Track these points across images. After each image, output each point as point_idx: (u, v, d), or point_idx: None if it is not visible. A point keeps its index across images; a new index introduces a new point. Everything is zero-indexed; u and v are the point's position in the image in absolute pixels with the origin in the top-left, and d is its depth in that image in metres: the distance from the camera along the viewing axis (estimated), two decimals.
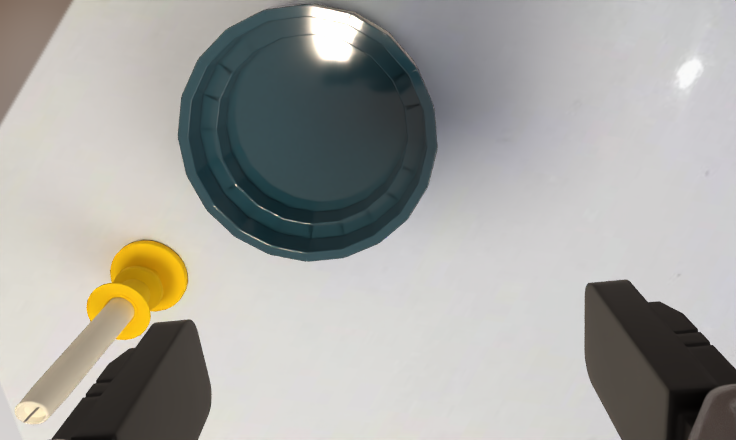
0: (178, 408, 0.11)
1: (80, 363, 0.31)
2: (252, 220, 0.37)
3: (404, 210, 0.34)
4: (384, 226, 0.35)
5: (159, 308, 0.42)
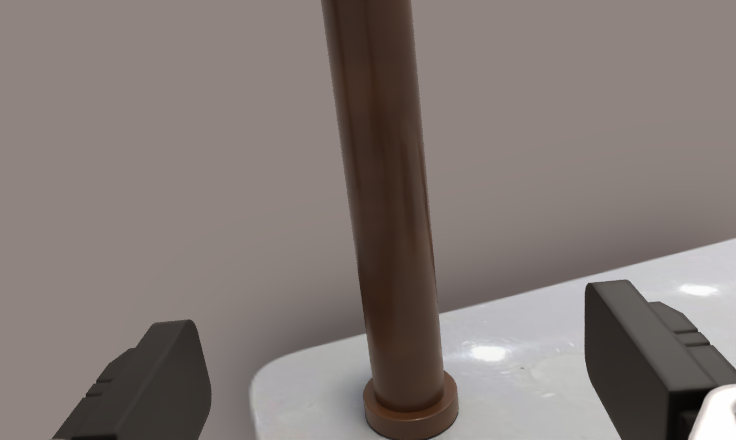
0: (178, 408, 0.11)
1: None
2: None
3: None
4: None
5: None
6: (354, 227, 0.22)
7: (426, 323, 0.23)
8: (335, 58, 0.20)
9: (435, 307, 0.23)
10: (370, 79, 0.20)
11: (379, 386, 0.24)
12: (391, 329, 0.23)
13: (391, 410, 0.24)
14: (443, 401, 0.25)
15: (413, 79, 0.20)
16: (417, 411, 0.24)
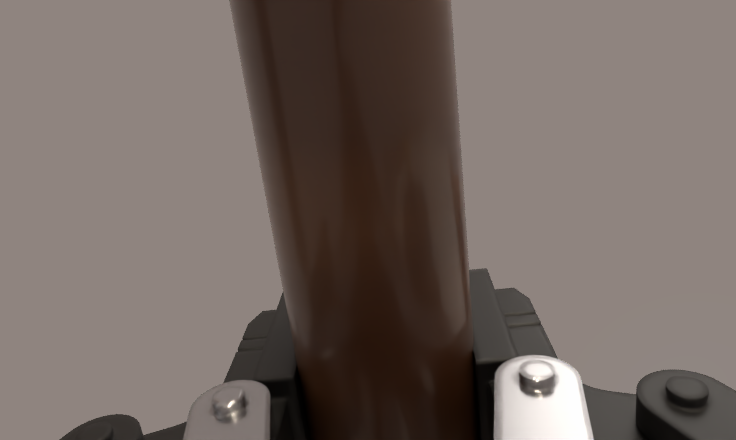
0: None
1: None
2: None
3: None
4: None
5: None
6: None
7: None
8: (264, 138, 0.08)
9: None
10: (350, 196, 0.08)
11: None
12: None
13: None
14: None
15: (455, 185, 0.08)
16: None
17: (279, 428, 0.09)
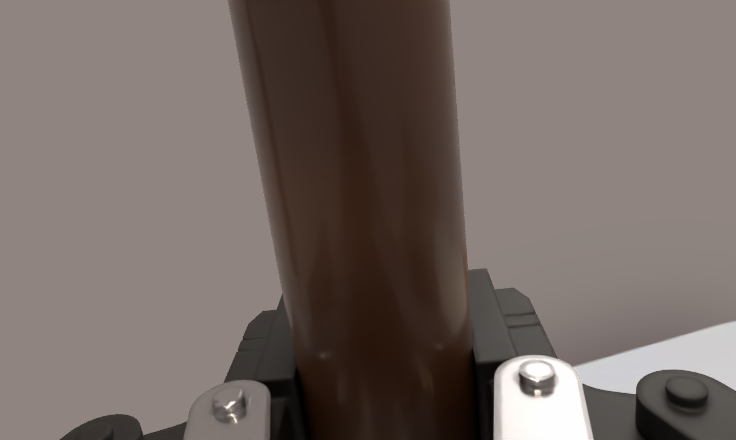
0: None
1: None
2: None
3: None
4: None
5: None
6: None
7: None
8: (263, 140, 0.08)
9: None
10: (348, 198, 0.08)
11: None
12: None
13: None
14: None
15: (453, 187, 0.08)
16: None
17: (279, 428, 0.09)
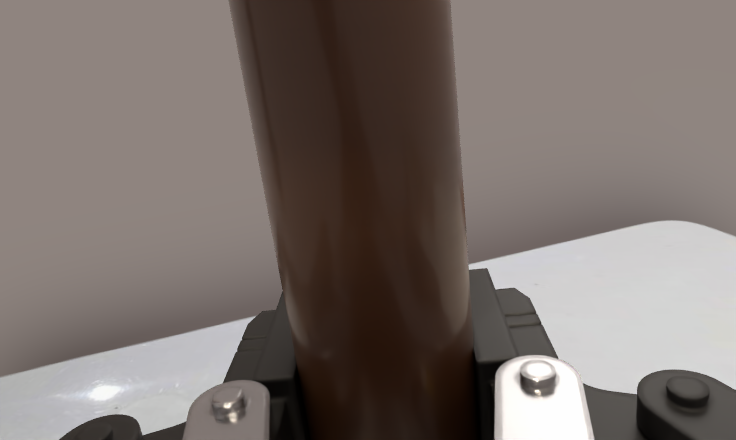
0: None
1: None
2: None
3: None
4: None
5: None
6: None
7: None
8: (264, 141, 0.08)
9: None
10: (350, 198, 0.08)
11: None
12: None
13: None
14: None
15: (455, 188, 0.08)
16: None
17: (278, 428, 0.09)
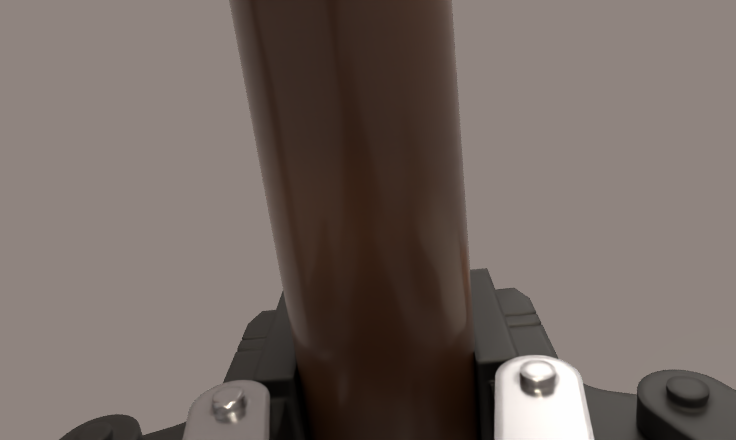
0: None
1: None
2: None
3: None
4: None
5: None
6: None
7: None
8: (265, 142, 0.08)
9: None
10: (351, 200, 0.08)
11: None
12: None
13: None
14: None
15: (456, 190, 0.08)
16: None
17: (279, 428, 0.09)
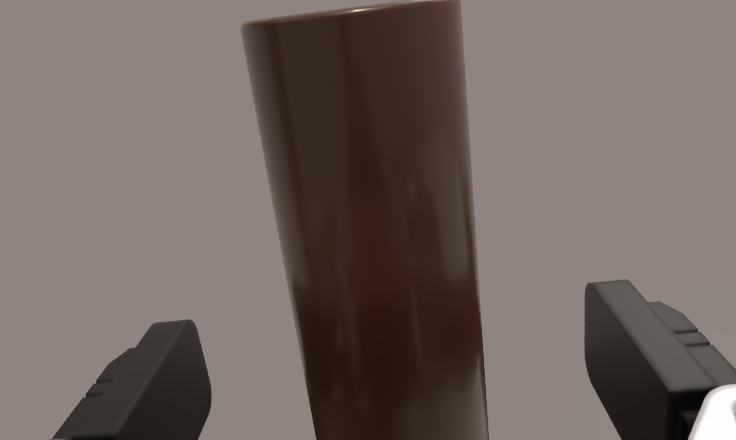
0: (178, 408, 0.11)
1: None
2: None
3: None
4: None
5: None
6: None
7: None
8: (277, 176, 0.08)
9: None
10: (363, 236, 0.08)
11: None
12: None
13: None
14: None
15: (466, 222, 0.08)
16: None
17: None
